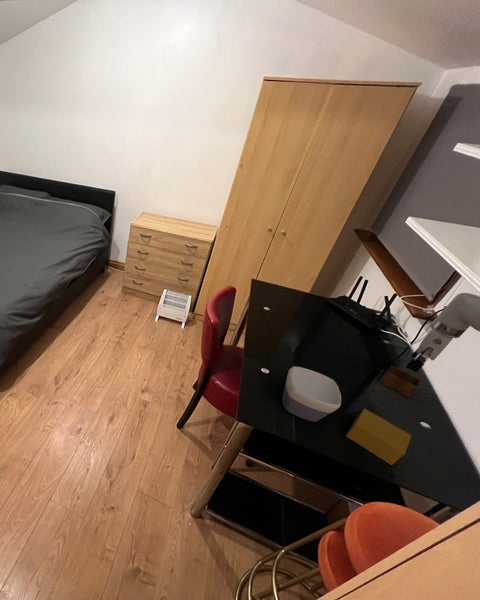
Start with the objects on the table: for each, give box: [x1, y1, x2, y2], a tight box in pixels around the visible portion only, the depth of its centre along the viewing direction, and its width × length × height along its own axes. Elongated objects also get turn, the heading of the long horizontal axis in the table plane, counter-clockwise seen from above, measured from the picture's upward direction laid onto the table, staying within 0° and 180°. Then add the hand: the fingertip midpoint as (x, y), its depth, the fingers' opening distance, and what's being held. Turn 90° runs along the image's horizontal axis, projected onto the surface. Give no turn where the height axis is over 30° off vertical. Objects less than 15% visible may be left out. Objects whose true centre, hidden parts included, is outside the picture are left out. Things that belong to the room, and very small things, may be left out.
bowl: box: [281, 365, 342, 423], centre depth 108 cm, size 15×15×11 cm
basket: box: [379, 365, 422, 398], centre depth 122 cm, size 9×7×6 cm
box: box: [345, 407, 413, 466], centre depth 100 cm, size 12×10×6 cm
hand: (413, 363), depth 118 cm, fingers open, 9 cm apart
